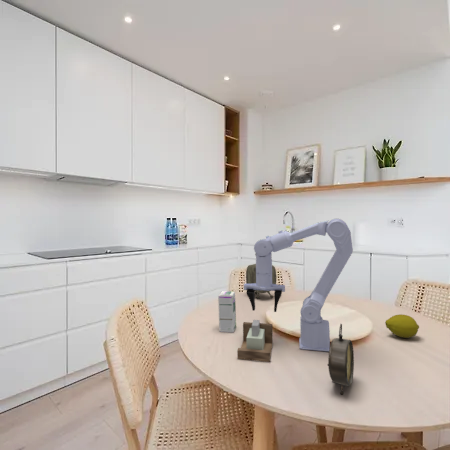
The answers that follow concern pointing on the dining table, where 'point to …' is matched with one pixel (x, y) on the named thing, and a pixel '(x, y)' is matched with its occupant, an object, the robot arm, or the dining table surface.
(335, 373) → the alarm clock
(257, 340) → the pale grey boxy piece
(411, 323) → the lemon
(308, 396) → the dining table surface
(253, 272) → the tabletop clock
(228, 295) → the syrup box
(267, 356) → the cleat board
